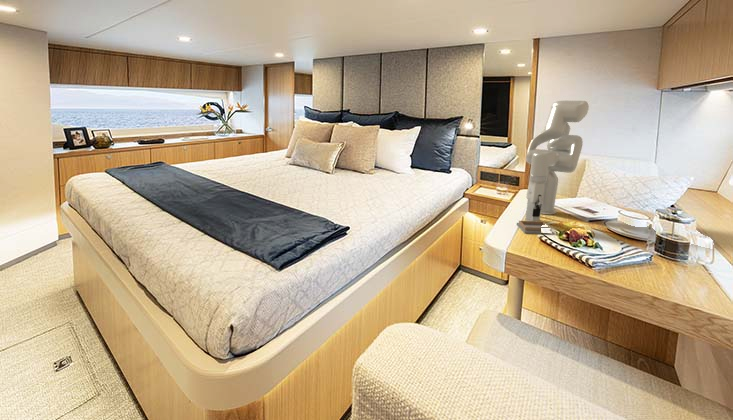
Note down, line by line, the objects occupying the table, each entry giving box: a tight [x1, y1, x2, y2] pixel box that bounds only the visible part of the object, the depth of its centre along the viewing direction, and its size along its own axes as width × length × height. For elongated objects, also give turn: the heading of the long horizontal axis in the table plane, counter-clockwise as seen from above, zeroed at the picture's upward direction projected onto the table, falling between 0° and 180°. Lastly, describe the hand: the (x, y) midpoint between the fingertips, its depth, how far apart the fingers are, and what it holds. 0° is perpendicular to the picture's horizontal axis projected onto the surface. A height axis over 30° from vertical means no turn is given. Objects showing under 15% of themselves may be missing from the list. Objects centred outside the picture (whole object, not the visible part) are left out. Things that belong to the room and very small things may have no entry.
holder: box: [516, 220, 551, 235], centre depth 167 cm, size 12×12×2 cm
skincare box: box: [524, 197, 542, 221], centre depth 177 cm, size 6×4×12 cm
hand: (533, 213), depth 178 cm, fingers closed on skincare box, 6 cm apart
